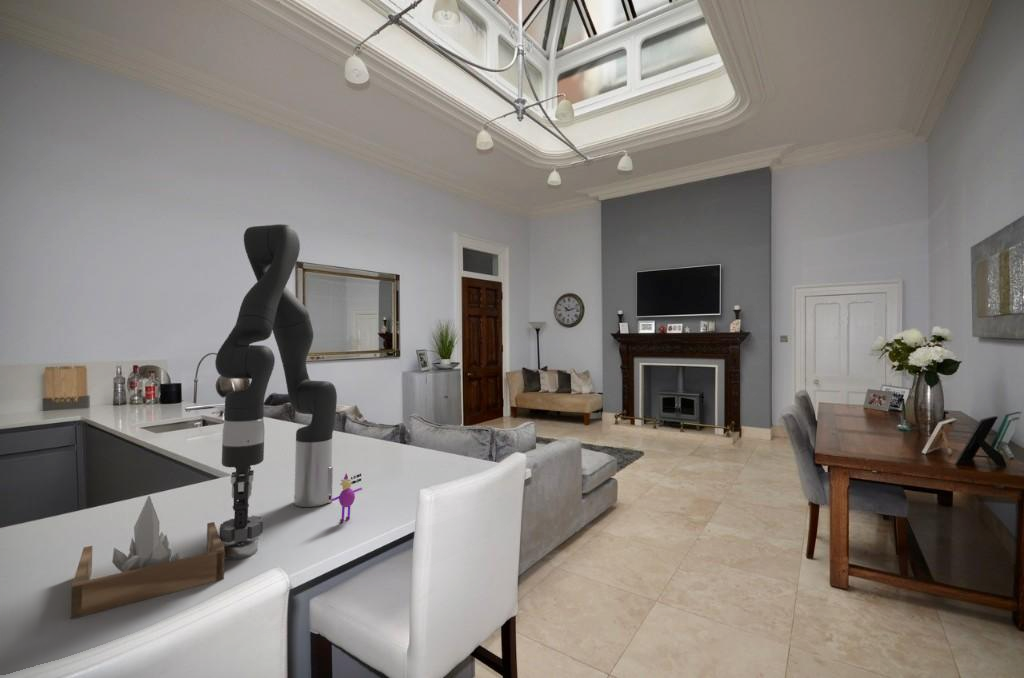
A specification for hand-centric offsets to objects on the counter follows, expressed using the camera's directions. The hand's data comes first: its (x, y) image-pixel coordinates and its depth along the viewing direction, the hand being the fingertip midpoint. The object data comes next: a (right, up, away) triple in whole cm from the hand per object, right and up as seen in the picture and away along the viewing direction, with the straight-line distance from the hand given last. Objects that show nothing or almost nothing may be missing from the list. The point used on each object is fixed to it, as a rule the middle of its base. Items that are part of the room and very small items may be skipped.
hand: (241, 522), depth 94 cm
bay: (-11, -6, -9) cm, 15 cm away
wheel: (0, -2, 0) cm, 2 cm away
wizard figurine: (+15, -7, +18) cm, 24 cm away
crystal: (-11, -6, -11) cm, 16 cm away
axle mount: (0, -6, 0) cm, 6 cm away
